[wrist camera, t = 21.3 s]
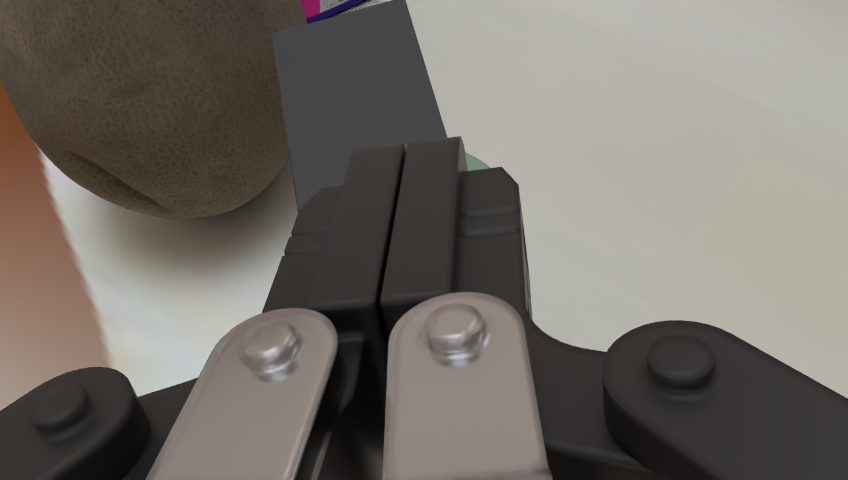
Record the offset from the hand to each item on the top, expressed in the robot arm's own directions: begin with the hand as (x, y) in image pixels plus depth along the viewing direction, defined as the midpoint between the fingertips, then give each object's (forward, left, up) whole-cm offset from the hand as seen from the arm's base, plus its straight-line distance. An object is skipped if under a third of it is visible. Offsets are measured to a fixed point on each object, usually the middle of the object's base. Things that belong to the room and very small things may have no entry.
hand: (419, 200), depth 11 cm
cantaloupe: (+26, +2, -23) cm, 35 cm away
